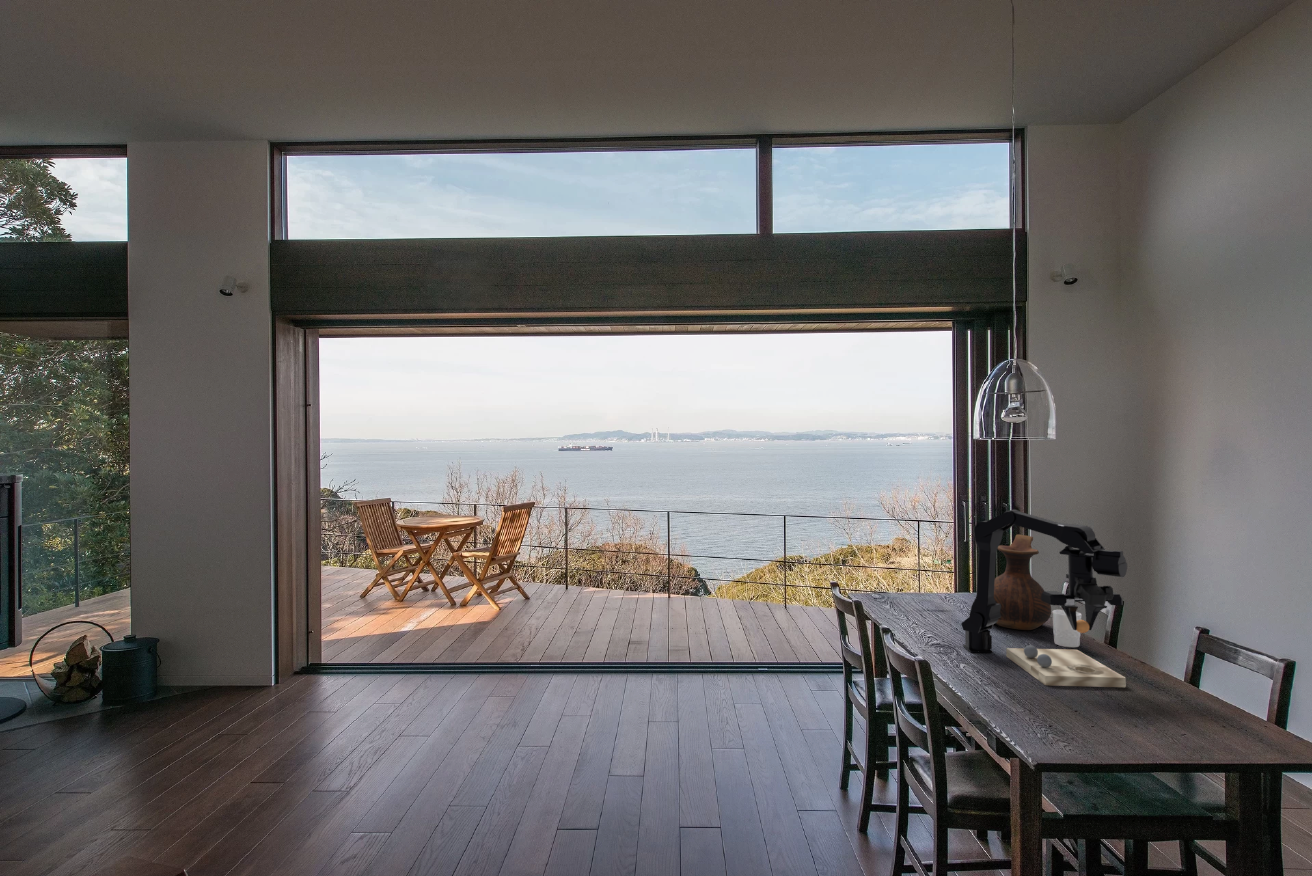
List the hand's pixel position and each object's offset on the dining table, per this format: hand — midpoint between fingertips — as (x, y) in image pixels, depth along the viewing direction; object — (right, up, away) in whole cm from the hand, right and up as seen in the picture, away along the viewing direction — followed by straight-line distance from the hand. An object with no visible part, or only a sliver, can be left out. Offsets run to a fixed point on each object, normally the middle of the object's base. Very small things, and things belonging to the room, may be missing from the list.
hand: (1082, 629), depth 189 cm
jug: (+9, -13, +51) cm, 54 cm away
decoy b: (-10, -8, 0) cm, 13 cm away
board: (-3, -13, +4) cm, 13 cm away
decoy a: (-10, -8, +8) cm, 15 cm away
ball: (0, +1, 0) cm, 1 cm away
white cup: (+13, -13, +29) cm, 34 cm away
